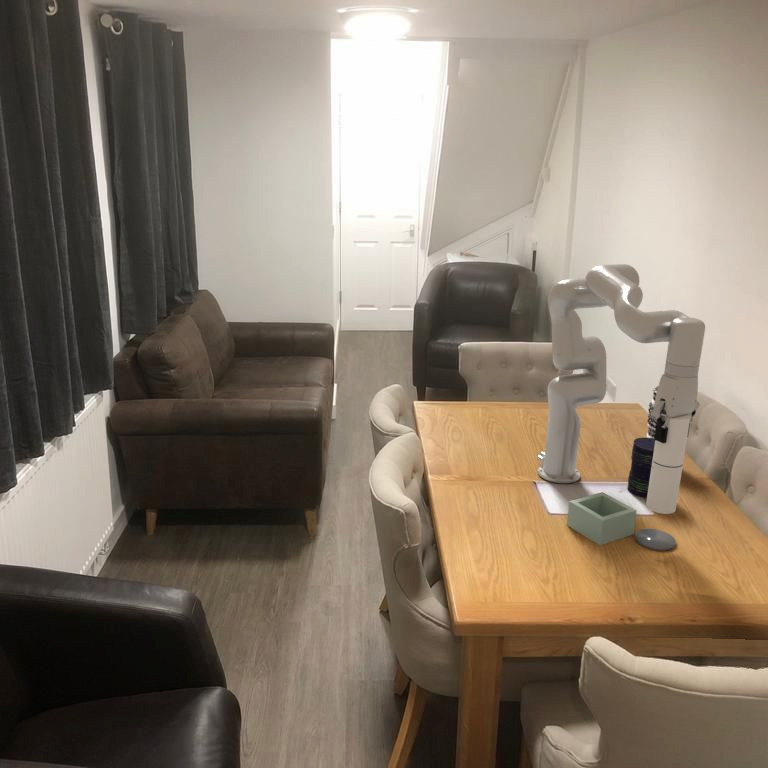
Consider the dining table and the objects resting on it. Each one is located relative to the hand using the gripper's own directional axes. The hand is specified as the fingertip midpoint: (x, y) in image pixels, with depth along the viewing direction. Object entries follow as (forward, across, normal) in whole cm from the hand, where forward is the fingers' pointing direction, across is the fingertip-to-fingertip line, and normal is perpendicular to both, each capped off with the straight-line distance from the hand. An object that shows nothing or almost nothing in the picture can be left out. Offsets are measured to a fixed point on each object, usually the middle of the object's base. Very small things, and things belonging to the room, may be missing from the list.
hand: (671, 438), depth 192 cm
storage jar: (+29, -20, -22) cm, 42 cm away
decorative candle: (+29, -42, -36) cm, 62 cm away
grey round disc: (+28, 0, 0) cm, 28 cm away
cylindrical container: (+19, 0, 0) cm, 19 cm away
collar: (+28, +8, -11) cm, 32 cm away
